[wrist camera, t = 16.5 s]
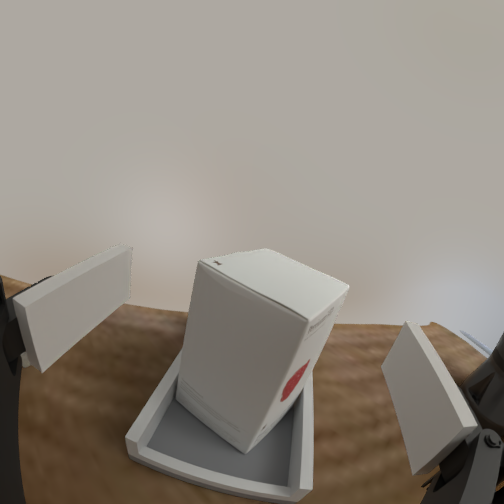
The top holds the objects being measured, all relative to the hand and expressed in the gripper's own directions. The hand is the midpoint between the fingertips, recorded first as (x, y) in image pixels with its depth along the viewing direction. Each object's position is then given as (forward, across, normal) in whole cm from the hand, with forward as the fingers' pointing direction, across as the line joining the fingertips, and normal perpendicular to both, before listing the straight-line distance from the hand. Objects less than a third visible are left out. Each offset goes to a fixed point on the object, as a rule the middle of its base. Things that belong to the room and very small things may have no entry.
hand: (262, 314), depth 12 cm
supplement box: (+8, 0, -16) cm, 18 cm away
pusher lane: (+9, 0, -17) cm, 19 cm away
